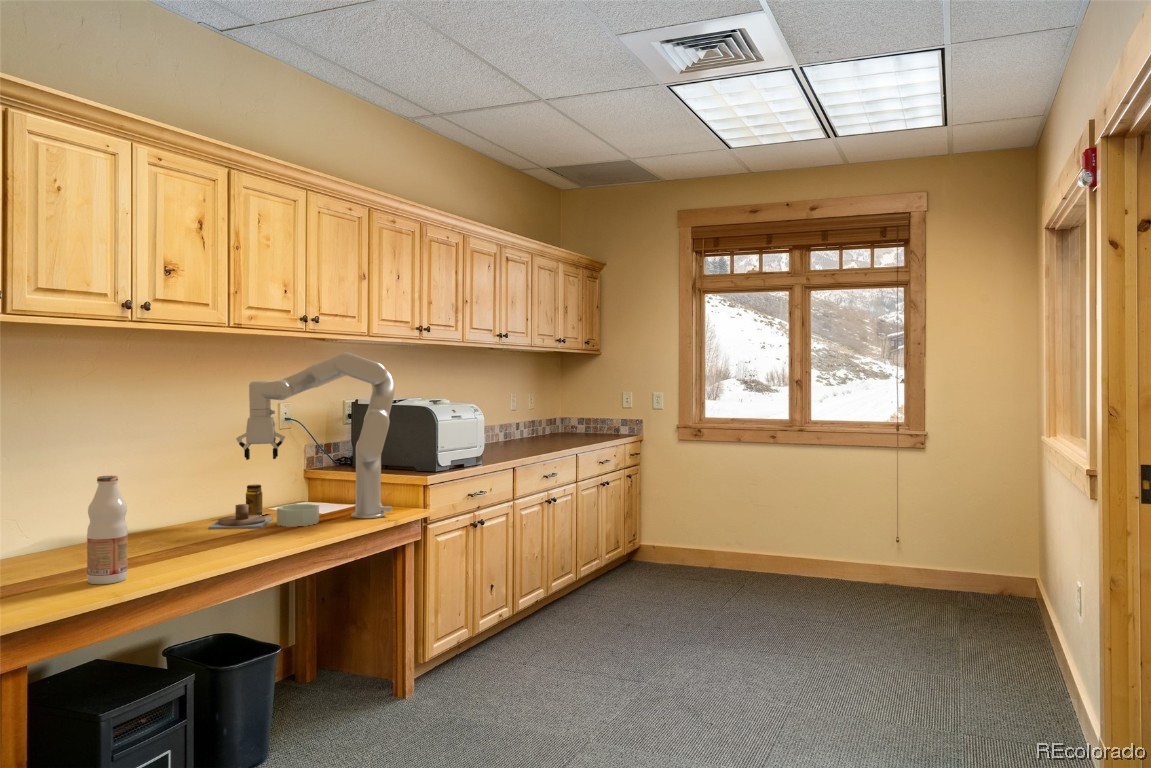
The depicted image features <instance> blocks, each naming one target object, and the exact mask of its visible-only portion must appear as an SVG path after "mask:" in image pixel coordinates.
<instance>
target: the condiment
mask: <svg viewBox="0 0 1151 768" xmlns="http://www.w3.org/2000/svg"><path fill="white" fill-rule="evenodd" d="M245 504H248V515H262V514H263V491H262V485H261V484H248V485H246V492H245Z"/></svg>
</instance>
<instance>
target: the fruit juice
mask: <svg viewBox="0 0 1151 768" xmlns="http://www.w3.org/2000/svg"><path fill="white" fill-rule="evenodd" d="M96 481H97V482H96V483H97V485H98V486H97V489H96V491H95V494H94V496H93V498H92V500H91V502H90V503H89V505H88V508H87V515H88V519H89V524H88V526H87V533H86V538H87V539H86V540H87V542H86V544H87V545H86V553H87V554H86V555H87V557H86V567H87V568H86V579H87V583H89V584H90V585H111V584H116V583H121V582H123V581H125V580H127V578H128V524H127V522H126V515H127V512H128V511H127V510H128V509H127V508H128V507H127V503H126V502H125V500H124V499H123V496H122V494H121V492H120V489H119V487H118V483H119V477H118V475H102V476H101V475H100V476H98V477H97V478H96Z"/></svg>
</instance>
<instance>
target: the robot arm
mask: <svg viewBox="0 0 1151 768" xmlns="http://www.w3.org/2000/svg"><path fill="white" fill-rule="evenodd" d="M345 376H348V377H351V378H353V379H356V380H359V381H363V382H366V383H367V384H371V386H372V387H371V395H370V398H369V399H370V401H369V404H368V407H367V410H366V412H365V415H364V417H363V423H362V428H361V430H360V435H359V437H358V440H357V442H356V445H355V511H353V512H351V517H352V518H355V519H376V518H383V517H384V516H385V514H386V513H385V512H393V506H390V505H387V506H385V505H383V502H381V501H382V500H381V497H382V496H381V495H382V494H381V493H382V486H381V485H382V480H381V479H382V452H383V451H384V450H383V449H384V446H385V442H386V438H387V435H388V431H389V428H390V422H391V421H390V413H391V411H392V410H391V409H392V405H393V401H394V396H395V388H396V387H395V382H394V379H393V377H392V374H391V373H390V372H389V371H388V369H386V367H385V366H384V364H382V363H379V362H377V361H374V360H371V359H368V358H365V357H363V356H359V355H356V354H354V353H352V352H348V351H344V352H341V353H339V354H337V355H334V356H332V357H330V358H326V359H324V360H322V361H319V362H317V363H314V364H312V365H309V366H308V367H307V368H305V369H303V370H301V371H299V372H297V373H295V374H292V375H289V376H286V377H284V378H283V379H278V380H274V381H267V380H255V381H250V383H249V384H248V399H249V400H248V402H249V406H248V408H249V417H247V421H246V432H245V433H243V434H241V435H239V436H238V437H236V442H237V443H238V444H239V446H240V447H241V448H243V450H244V451H243V453H244V458H245V460H246V461H249V460H250V459H251V457H250V454H251V453H250V446H251V445H267V444H268V445H271V446H272V447H273V448H272V459H273V460H276V459H277V457H278V456H279V448H280V446H281V445H282V444H283V443H284V440H285V439H286V436H285V435H283V434H281V433H279V432H276V426H275V425H276V424H275V419H274V416H273V415H275V414H276V411H275V410H273V409H272V404H271V403H272V402H271V400H272V401H273V400H274V401H285V400H287V399H289V398H291V397H293V396H295V395H298V394H300V393H301V394H302V393H304V392H306V391H308V390H310V389H315V388H319V387H321V386H324V385H326V384H329V383H331V382H333V381H335V380H338V379H341V378H343V377H345ZM244 438H245V441H246V443H245V442H243V440H242V439H244ZM276 438H279V441H278V442H276V440H277V439H276Z"/></svg>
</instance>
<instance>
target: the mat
mask: <svg viewBox="0 0 1151 768" xmlns="http://www.w3.org/2000/svg"><path fill="white" fill-rule="evenodd" d="M264 517H265V522H263V523H259V524H254V525H246V526H225V525H220V524H218V520H217V521H216V522H214V523H212V524H211V525H209V526H208V530H223V529H222V528H248V529H263V528H264V527H265V526H266V525H267V524H269V523H270V522H271V521H272V520H273V516H269V517H267V516H264ZM270 520H271V521H270ZM269 521H270V522H269ZM268 522H269V523H268ZM264 525H265V526H264ZM263 526H264V527H263ZM262 527H263V528H262ZM219 528H221V529H219Z"/></svg>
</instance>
